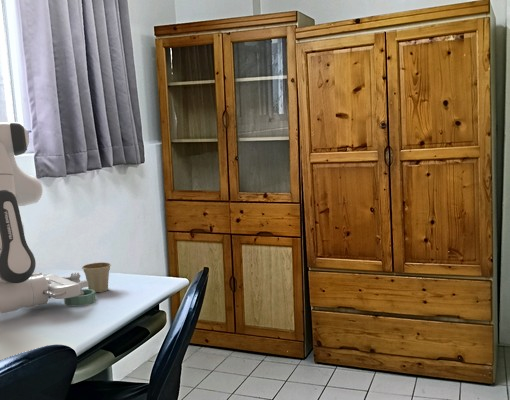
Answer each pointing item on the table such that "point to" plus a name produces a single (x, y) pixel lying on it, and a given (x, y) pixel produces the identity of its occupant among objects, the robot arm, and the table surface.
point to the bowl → (81, 298)
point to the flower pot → (97, 276)
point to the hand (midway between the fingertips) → (81, 281)
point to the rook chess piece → (76, 280)
